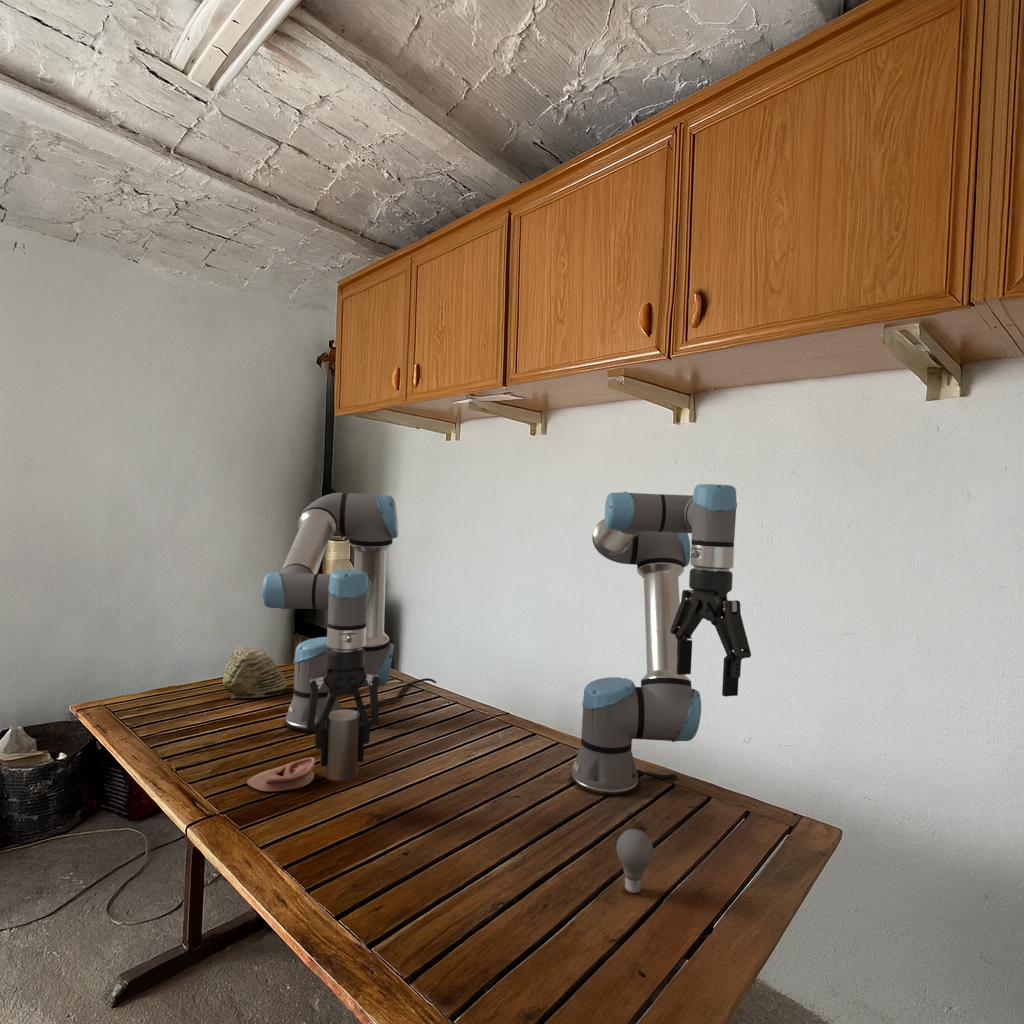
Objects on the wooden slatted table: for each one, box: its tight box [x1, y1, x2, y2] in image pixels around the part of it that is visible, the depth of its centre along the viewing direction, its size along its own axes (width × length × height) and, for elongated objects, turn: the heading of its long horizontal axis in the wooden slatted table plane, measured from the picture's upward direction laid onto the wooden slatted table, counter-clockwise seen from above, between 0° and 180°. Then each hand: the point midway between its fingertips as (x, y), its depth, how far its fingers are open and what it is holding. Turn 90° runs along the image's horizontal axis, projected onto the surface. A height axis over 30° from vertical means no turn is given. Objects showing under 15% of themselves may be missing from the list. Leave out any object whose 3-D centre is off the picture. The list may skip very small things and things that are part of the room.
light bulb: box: [615, 828, 654, 894], centre depth 106 cm, size 6×6×10 cm
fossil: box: [222, 646, 288, 699], centre depth 198 cm, size 9×18×15 cm, turn 132°
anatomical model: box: [246, 757, 316, 792], centre depth 140 cm, size 13×4×12 cm
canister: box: [323, 709, 361, 782], centre depth 127 cm, size 7×7×12 cm
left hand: (341, 761), depth 127 cm, fingers closed on canister, 7 cm apart
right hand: (705, 684), depth 116 cm, fingers open, 13 cm apart
